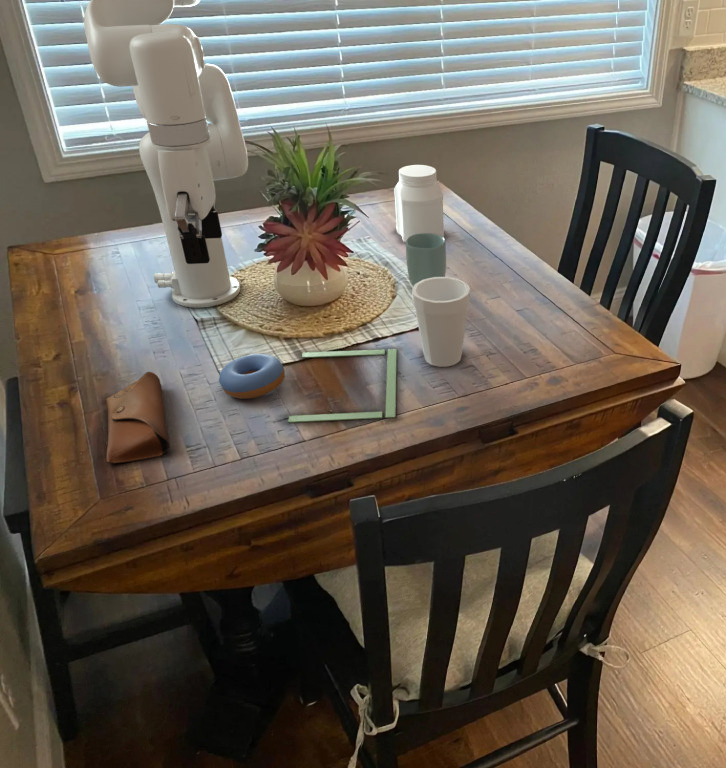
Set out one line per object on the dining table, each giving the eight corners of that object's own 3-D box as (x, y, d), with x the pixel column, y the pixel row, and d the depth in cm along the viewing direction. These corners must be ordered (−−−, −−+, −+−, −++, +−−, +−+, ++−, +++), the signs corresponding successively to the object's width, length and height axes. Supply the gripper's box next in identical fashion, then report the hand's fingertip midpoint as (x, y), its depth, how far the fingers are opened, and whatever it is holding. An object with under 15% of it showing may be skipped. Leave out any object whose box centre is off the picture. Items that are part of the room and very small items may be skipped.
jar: (393, 227, 177) (389, 164, 168) (432, 223, 180) (430, 160, 172) (406, 246, 168) (403, 181, 160) (447, 241, 171) (446, 176, 163)
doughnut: (212, 383, 121) (207, 359, 119) (272, 364, 127) (267, 341, 124) (235, 413, 115) (229, 388, 112) (297, 391, 120) (293, 367, 118)
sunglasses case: (102, 396, 117) (116, 361, 115) (149, 406, 121) (164, 372, 119) (105, 466, 103) (122, 426, 101) (159, 474, 108) (175, 436, 106)
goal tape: (288, 422, 113) (288, 421, 113) (302, 353, 130) (302, 352, 130) (395, 417, 115) (395, 416, 115) (396, 349, 132) (396, 348, 131)
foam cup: (478, 349, 132) (478, 282, 125) (458, 376, 125) (457, 306, 118) (429, 339, 135) (426, 273, 128) (406, 364, 128) (402, 296, 120)
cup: (449, 279, 155) (448, 234, 149) (443, 297, 148) (441, 250, 143) (412, 277, 155) (410, 231, 150) (404, 294, 149) (401, 247, 143)
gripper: (166, 118, 110) (191, 230, 119) (133, 150, 95) (164, 274, 105) (219, 117, 111) (240, 228, 120) (194, 149, 96) (220, 272, 105)
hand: (205, 249), depth 112 cm, fingers open, 9 cm apart
